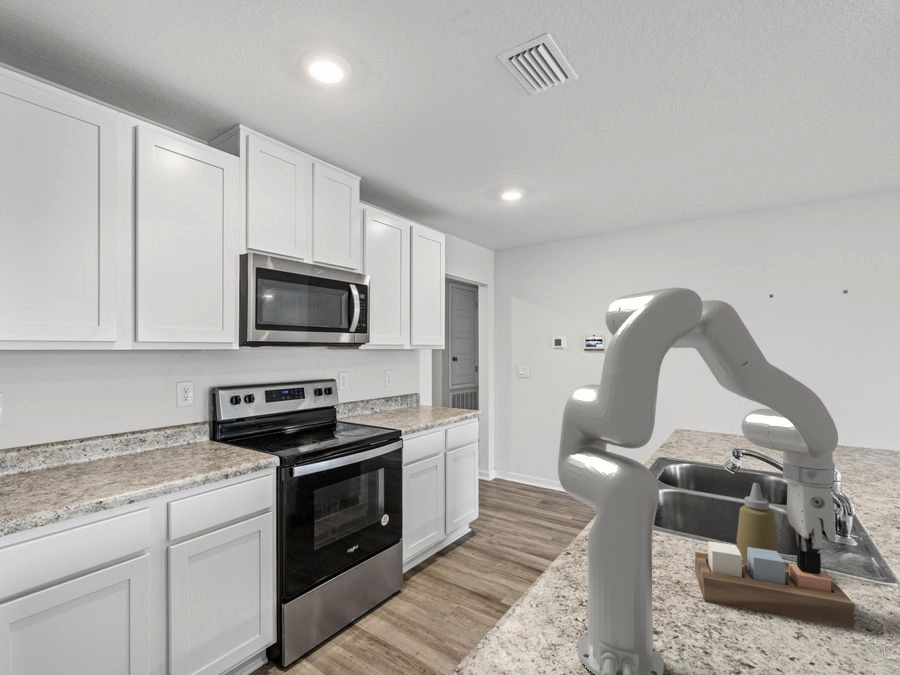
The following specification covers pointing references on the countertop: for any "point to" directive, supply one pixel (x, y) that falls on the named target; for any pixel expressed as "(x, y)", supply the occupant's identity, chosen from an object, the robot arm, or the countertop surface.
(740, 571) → the key cream
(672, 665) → the countertop surface
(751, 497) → the squeeze bottle
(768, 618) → the countertop surface
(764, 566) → the key slate
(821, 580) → the peach cube
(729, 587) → the wooden compartment tray
